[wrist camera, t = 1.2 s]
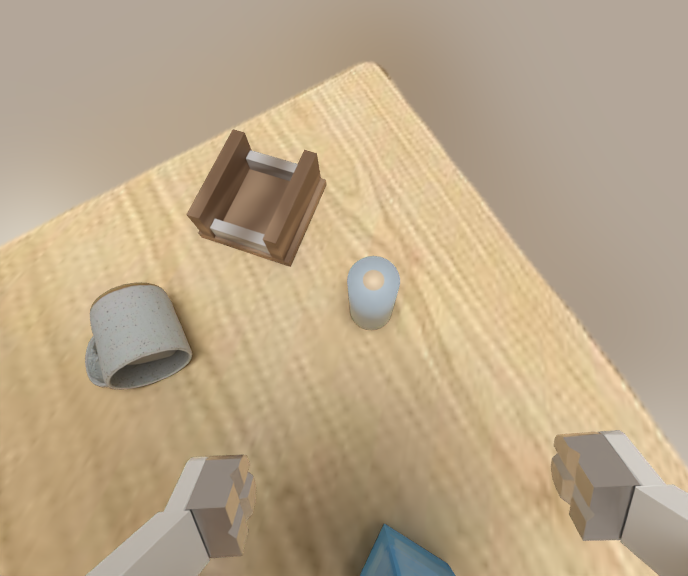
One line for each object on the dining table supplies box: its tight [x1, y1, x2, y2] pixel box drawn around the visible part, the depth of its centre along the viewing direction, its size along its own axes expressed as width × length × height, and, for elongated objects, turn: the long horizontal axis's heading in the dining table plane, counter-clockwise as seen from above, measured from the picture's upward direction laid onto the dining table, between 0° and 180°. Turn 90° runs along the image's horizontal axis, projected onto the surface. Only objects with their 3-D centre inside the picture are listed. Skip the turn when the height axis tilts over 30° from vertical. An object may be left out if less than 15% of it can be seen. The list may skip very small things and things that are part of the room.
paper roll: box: [347, 256, 400, 330], centre depth 38 cm, size 4×4×9 cm
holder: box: [187, 130, 326, 267], centre depth 44 cm, size 11×11×6 cm
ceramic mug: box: [85, 283, 192, 389], centre depth 38 cm, size 11×8×8 cm
